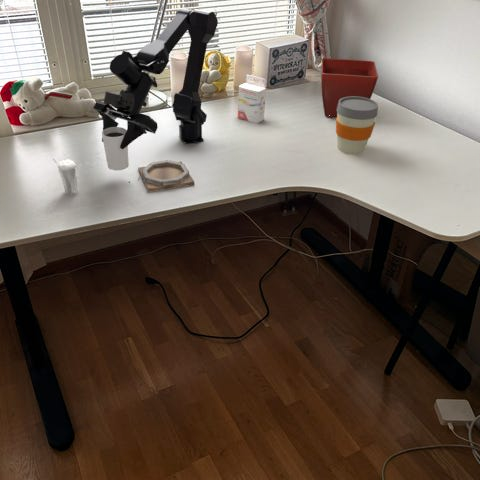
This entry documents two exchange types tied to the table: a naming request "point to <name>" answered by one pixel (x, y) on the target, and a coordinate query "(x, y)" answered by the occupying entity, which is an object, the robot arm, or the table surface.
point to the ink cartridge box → (252, 99)
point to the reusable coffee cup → (355, 123)
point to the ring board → (165, 175)
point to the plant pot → (346, 81)
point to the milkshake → (68, 176)
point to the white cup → (115, 148)
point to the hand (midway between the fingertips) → (112, 145)
